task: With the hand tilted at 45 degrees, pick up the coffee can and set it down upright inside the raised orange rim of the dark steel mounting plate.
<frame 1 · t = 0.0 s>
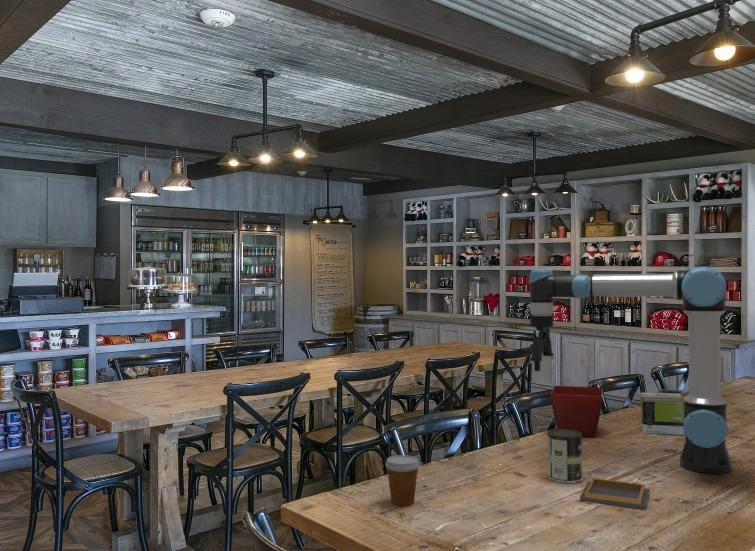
hand: (542, 377, 222), 28 cm above the table, tool pointing down, fingers open, 13 cm apart
disposable coffee cup: (402, 502, 183), on the table
coffee can: (564, 478, 202), on the table
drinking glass: (670, 419, 281), on the table
tea box: (662, 432, 259), on the table
plant pot: (577, 433, 259), on the table
mount plate: (615, 496, 185), on the table
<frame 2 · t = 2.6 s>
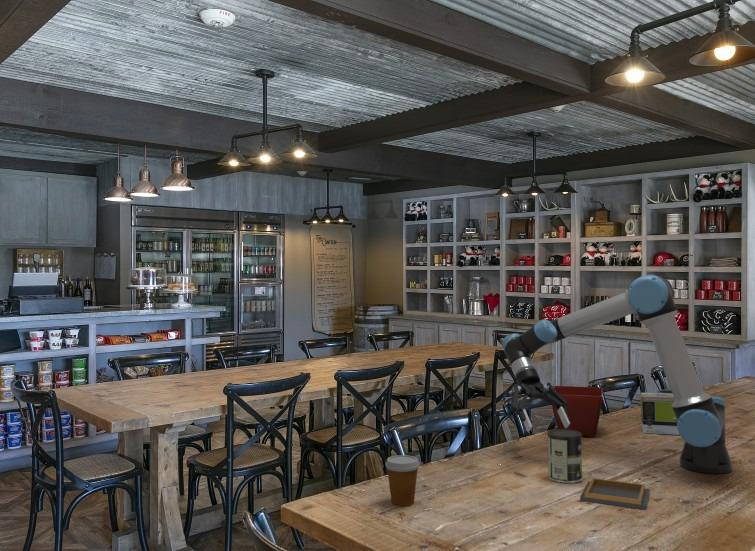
hand: (548, 427, 210), 14 cm above the table, tool tilted 45°, fingers open, 13 cm apart
nothing on the table moved.
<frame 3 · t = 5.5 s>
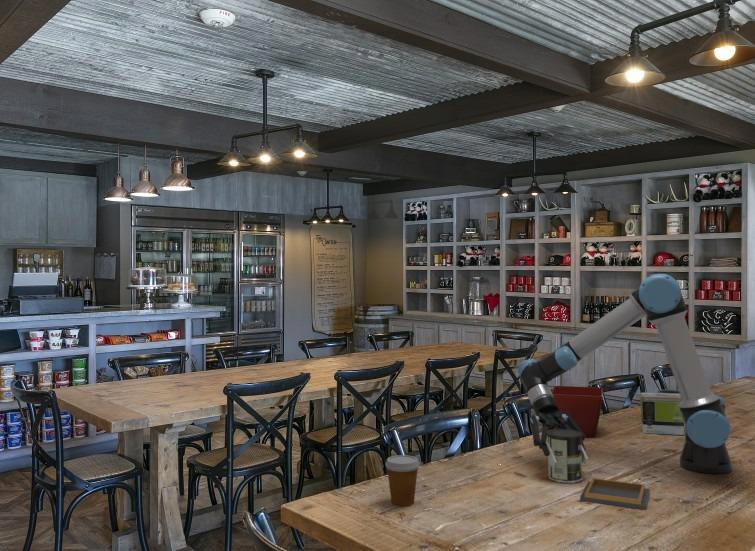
hand: (570, 463, 199), 6 cm above the table, tool tilted 45°, fingers closed on coffee can, 10 cm apart
coffee can: (564, 478, 202), on the table, touching gripper
everything else where it was.
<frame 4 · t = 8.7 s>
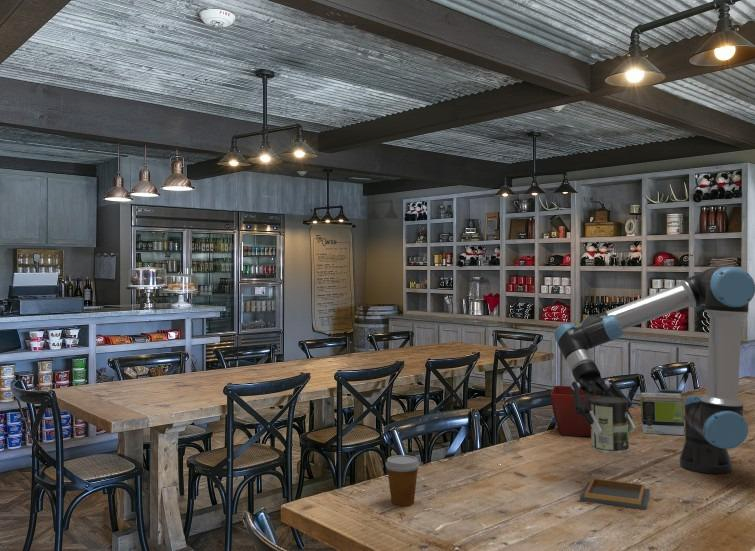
hand: (616, 431, 184), 19 cm above the table, tool tilted 45°, fingers closed on coffee can, 10 cm apart
coffee can: (609, 449, 187), point 13 cm above the table, touching gripper
everything else where it was.
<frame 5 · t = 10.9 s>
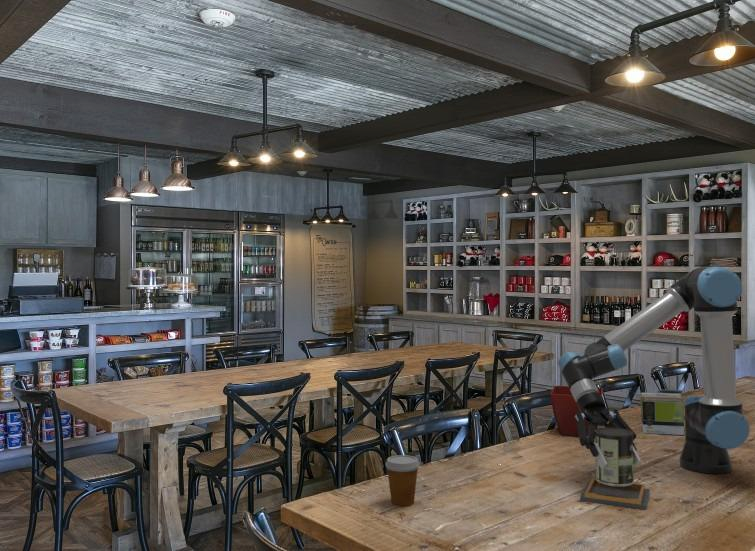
hand: (620, 464, 183), 10 cm above the table, tool tilted 45°, fingers closed on coffee can, 10 cm apart
coffee can: (614, 481, 185), point 4 cm above the table, touching gripper
everything else where it was.
when the fingers open (8 cm above the table, at t = 12.3 s): coffee can drops 2 cm, resting on mount plate.
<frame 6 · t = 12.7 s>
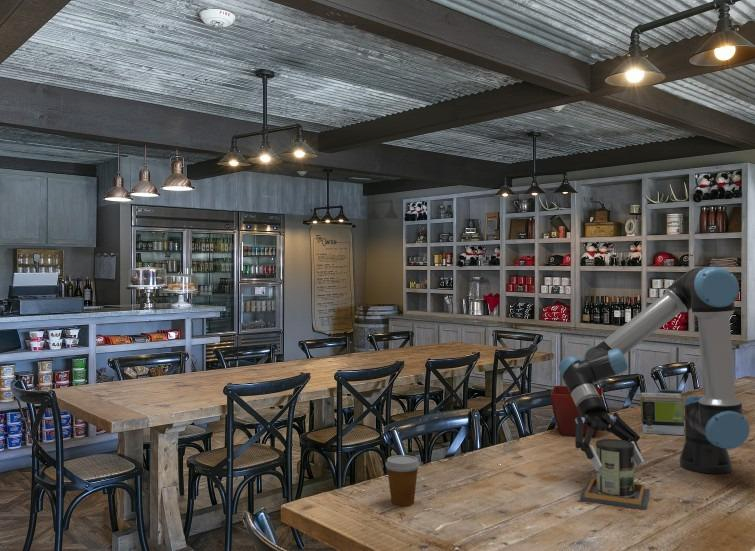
hand: (620, 466, 183), 9 cm above the table, tool tilted 45°, fingers open, 13 cm apart
coffee can: (615, 493, 185), point 1 cm above the table, touching mount plate
everything else where it was.
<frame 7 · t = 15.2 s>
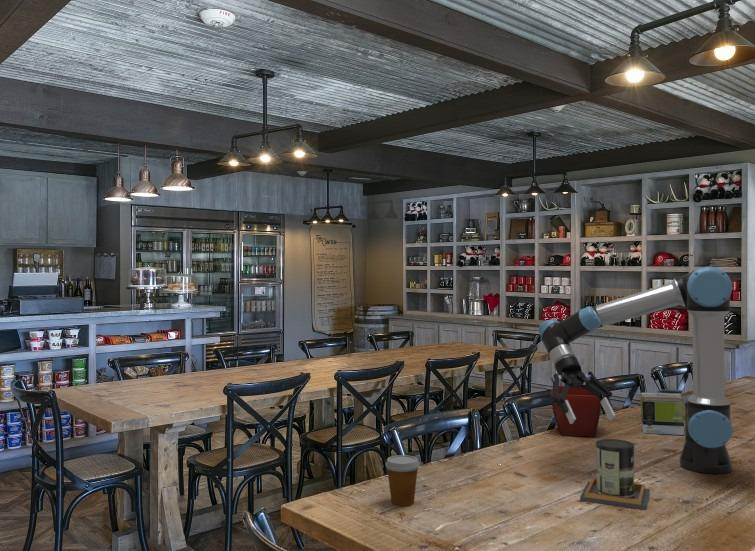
hand: (593, 419, 196), 19 cm above the table, tool tilted 45°, fingers open, 13 cm apart
nothing on the table moved.
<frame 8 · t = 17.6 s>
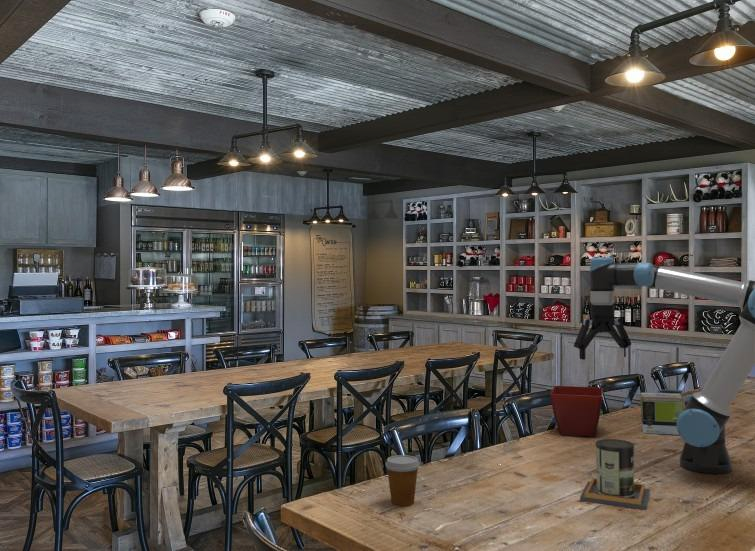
hand: (602, 368, 216), 32 cm above the table, tool pointing down, fingers open, 13 cm apart
nothing on the table moved.
at the end: coffee can 0.0 cm off-centre on the mount plate, point 0.8 cm above the mount plate's base; coffee can tilted 0°; the gripper is holding nothing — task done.
